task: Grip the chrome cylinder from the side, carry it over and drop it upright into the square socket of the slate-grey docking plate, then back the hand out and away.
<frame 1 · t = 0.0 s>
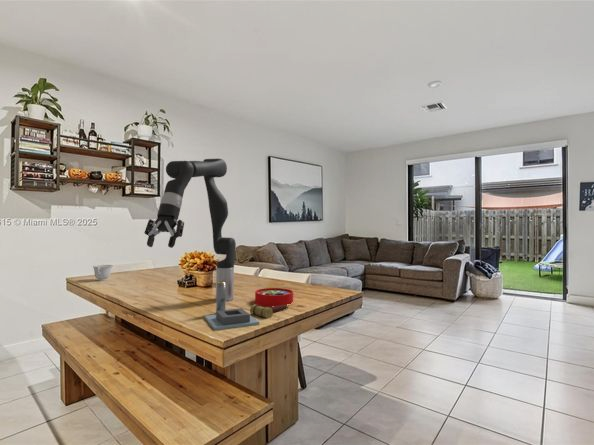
hand: (159, 246, 118), 31 cm above the table, tool tilted 20°, fingers open, 8 cm apart
toy clock: (274, 303, 169), on the table
chrome cylinder: (220, 313, 145), on the table
gavel: (273, 313, 149), on the table
teacup: (101, 280, 223), on the table
dock: (232, 322, 132), on the table
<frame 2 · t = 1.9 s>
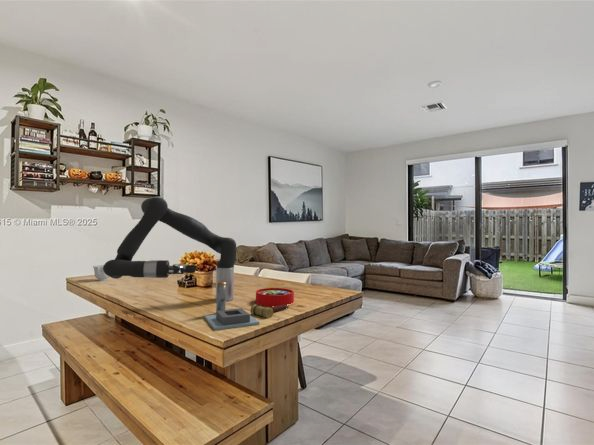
hand: (195, 268, 143), 20 cm above the table, tool horizontal, fingers open, 8 cm apart
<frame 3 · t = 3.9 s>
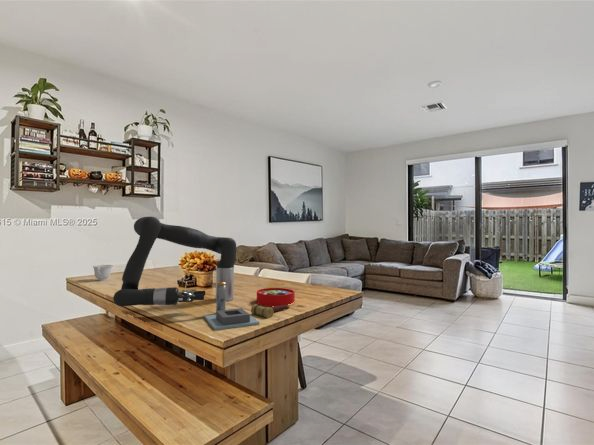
hand: (204, 295, 144), 8 cm above the table, tool horizontal, fingers open, 8 cm apart
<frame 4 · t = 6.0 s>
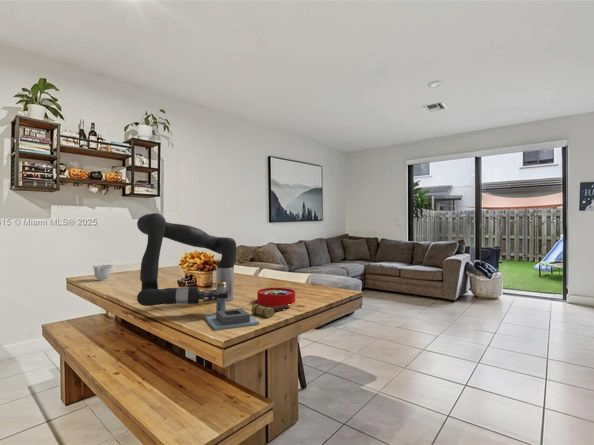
hand: (227, 294, 146), 9 cm above the table, tool horizontal, fingers closed on chrome cylinder, 4 cm apart
chrome cylinder: (220, 313, 145), on the table, touching gripper
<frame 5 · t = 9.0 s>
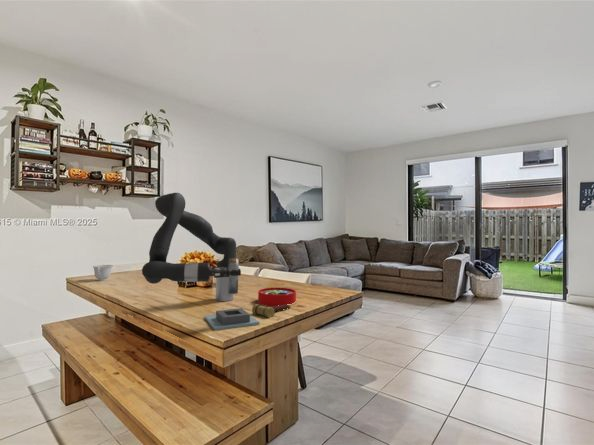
hand: (240, 272, 133), 21 cm above the table, tool horizontal, fingers closed on chrome cylinder, 4 cm apart
chrome cylinder: (232, 292, 132), point 12 cm above the table, touching gripper
when the fingers open (10 cm above the table, at t = 11.8 s): chrome cylinder stays where it is, resting on dock.
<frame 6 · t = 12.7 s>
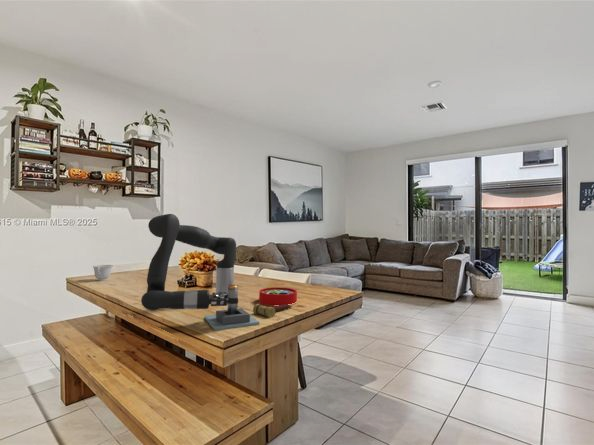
hand: (237, 298, 133), 10 cm above the table, tool horizontal, fingers open, 8 cm apart
chrome cylinder: (232, 319, 132), point 1 cm above the table, touching dock
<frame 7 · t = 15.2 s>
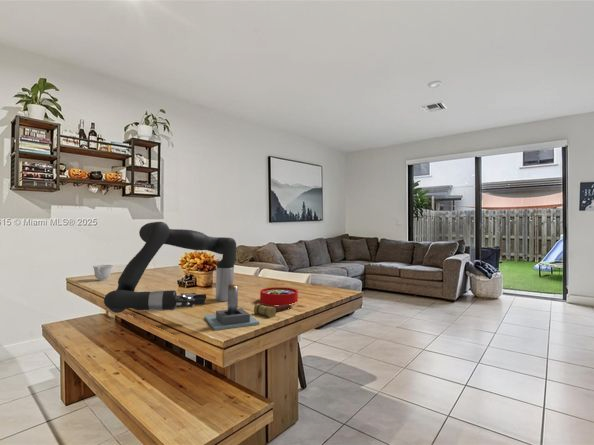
hand: (205, 299, 130), 10 cm above the table, tool horizontal, fingers open, 8 cm apart
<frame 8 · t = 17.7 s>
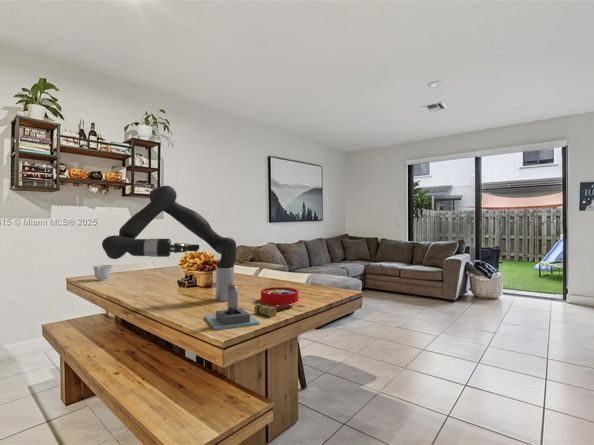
hand: (198, 247, 137), 30 cm above the table, tool horizontal, fingers open, 8 cm apart
at the end: chrome cylinder 0.1 cm off-centre on the dock, point 1.0 cm above the dock's base; chrome cylinder tilted 0°; the gripper is holding nothing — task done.
